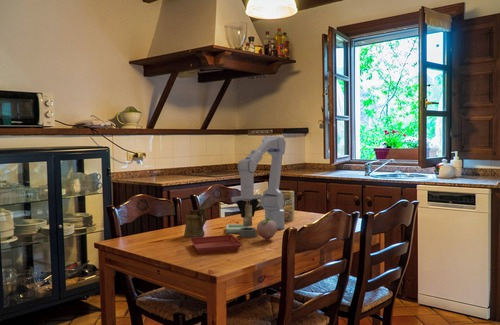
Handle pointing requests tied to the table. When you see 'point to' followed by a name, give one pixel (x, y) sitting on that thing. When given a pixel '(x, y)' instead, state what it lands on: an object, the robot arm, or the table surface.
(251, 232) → the octagonal ring
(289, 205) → the candy box
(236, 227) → the tray
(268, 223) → the decorative fruit
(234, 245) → the plant saucer
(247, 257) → the table surface
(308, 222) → the table surface
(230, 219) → the table surface
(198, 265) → the table surface
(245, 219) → the dowel
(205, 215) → the brown wooden container
